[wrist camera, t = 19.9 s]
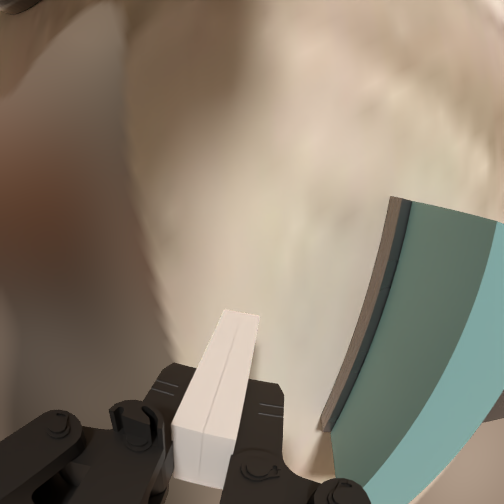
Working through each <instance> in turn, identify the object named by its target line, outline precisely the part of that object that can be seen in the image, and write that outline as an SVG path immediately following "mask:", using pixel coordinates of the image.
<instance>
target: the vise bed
mask: <svg viewBox="0 0 504 504" xmlns="http://www.w3.org/2000/svg"><path fill="white" fill-rule="evenodd" d="M411 205H412V201H410V200H406V199H403V198H398V197H392V196H390V201H389V207H388V211H387V216H386V221H385V225H384V230H383V234H382V239H381V243H380V247H379V251H378V255H377V259H376V263H375V266H374V270H373V274H372V277H371V281H370V284H369V288H368V291H367V295H366V298H365V301H364V304H363V308H362V311H361V314H360V317H359V320H358V323H357V326H356V329H355V332H354V335H353V337H352V340H351V343H350V346H349V349H348V351H347V354H346V357H345V359H344V362H343V365H342V367H341V370H340V372H339V375H338V377H337V380H336V382H335V385H334V387H333V389H332V392H331V394H330V396H329V399H328V401H327V403H326V406H325V408H324V410H323V412H322V414H321V420H322V430H323V432H331V431H332V429H333V427H334V426H335V424H336V422H337V420H338V418H339V416H340V414H341V412H342V410H343V408H344V406H345V404H346V402H347V399H348V397H349V395H350V393H351V391H352V389H353V387H354V384H355V382H356V380H357V378H358V375H359V373H360V371H361V368H362V366H363V364H364V361H365V359H366V356H367V354H368V351H369V349H370V346H371V344H372V341H373V338H374V336H375V333H376V330H377V328H378V325H379V322H380V319H381V316H382V313H383V310H384V307H385V304H386V301H387V298H388V295H389V292H390V289H391V285H392V282H393V279H394V275H395V272H396V268H397V265H398V261H399V257H400V253H401V250H402V246H403V242H404V238H405V233H406V229H407V225H408V220H409V215H410V210H411ZM501 418H504V390H503V391H502V393H501V395H500V396H499V398H498V399H497V401H496V403H495V404H494V406H493V407H492V409H491V410H490V412H489V413H488V415H487V416H486V417H485V419H484V420H483V422H487V421H492V420H497V419H501ZM483 422H482V423H483Z"/></svg>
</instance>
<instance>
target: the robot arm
mask: <svg viewBox="0 0 504 504" xmlns="http://www.w3.org/2000/svg"><path fill="white" fill-rule="evenodd" d="M39 1H41V0H0V11H3V12H5V13H8V14H17V13H20V12H22V11H24V10H26V9H28V8H30V7H32V6H33V5H35V4H36V3H38V2H39ZM259 320H260V316H259V315H253V314H248V313H243V312H238V311H233V310H228V309H224V311H223V313H222V315H221V317H220V319H219V321H218V324H217V326H216V328H215V330H214V332H213V334H212V337H211V339H210V341H209V343H208V345H207V347H206V350H205V352H204V354H203V356H202V358H201V360H200V363H199V365H198V367H197V368H193V367H189V366H185V365H181V364H177V363H172V364H171V365H169V366H168V367H166V368H164V369H163V370H162V371H161V373H160V375H159V376H158V378H157V380H156V382H155V383H154V384H153V386H152V388H151V390H150V391H149V392H148V394H147V395H146V397H145V399H144V400H143V401H138V400H125V401H122V402H119V403H117V404H115V405H114V406H112V407H111V408H110V409H109V413H110V418H111V422H112V426H113V429H111V430H104V429H96V428H91V427H85V426H81V424H80V421H79V420H78V419H77V418H76V417H75V415H73V414H71V413H69V412H67V411H62V410H50V411H48V412H46V413H43V414H42V415H40V416H39V417H37V418H36V419H34V420H33V421H31V422H30V423H28V424H27V425H25V426H24V427H22V428H20V429H19V430H18V431H16V432H14V433H13V434H11V435H10V436H8V437H7V438H5V439H4V440H2V441H0V504H164V503H165V500H166V497H167V495H168V489H169V484H168V483H169V480H170V478H171V475H172V473H173V477H174V478H177V479H180V480H184V481H188V482H191V483H196V484H200V485H204V486H208V487H212V488H217V489H222V490H223V491H222V496H221V500H220V504H371V501H370V499H369V497H368V495H367V493H366V492H365V490H364V489H363V488H362V486H361V485H359V484H358V483H356V482H355V481H353V480H349V479H345V478H333V479H330V480H327V481H324V482H323V483H322V484H321V483H317V482H314V481H311V480H308V479H305V478H302V477H300V476H298V475H296V474H295V473H293V472H292V471H291V470H289V468H288V467H287V466H286V465H285V463H284V460H283V457H282V442H283V415H284V409H283V408H284V394H283V392H282V390H281V388H280V386H279V385H278V384H275V383H269V382H263V381H258V380H252V379H249V373H250V368H251V363H252V358H253V352H254V347H255V342H256V336H257V331H258V326H259Z"/></svg>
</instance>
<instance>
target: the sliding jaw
mask: <svg viewBox="0 0 504 504" xmlns="http://www.w3.org/2000/svg"><path fill="white" fill-rule="evenodd" d="M503 390H504V224H502V223H500V222H497V221H494V220H490V219H486V218H483V217H479V216H475V215H471V214H467V213H463V212H459V211H455V210H451V209H446V208H442V207H437V206H433V205H428V204H424V203H419V202H414V201H412V205H411V210H410V215H409V220H408V225H407V229H406V233H405V238H404V242H403V246H402V250H401V253H400V257H399V261H398V265H397V268H396V272H395V275H394V279H393V282H392V285H391V289H390V292H389V295H388V298H387V301H386V304H385V307H384V310H383V313H382V316H381V319H380V322H379V325H378V328H377V330H376V333H375V336H374V338H373V341H372V344H371V346H370V349H369V351H368V354H367V356H366V359H365V361H364V364H363V366H362V368H361V371H360V373H359V375H358V378H357V380H356V382H355V384H354V387H353V389H352V391H351V393H350V395H349V397H348V399H347V402H346V404H345V406H344V408H343V410H342V412H341V414H340V416H339V418H338V420H337V422H336V424H335V426H334V427H333V429H332V431H331V433H330V434H331V442H332V450H333V458H334V467H335V476H336V478H345V479H349V480H353V481H355V482H356V483H358V484H359V485H361V486H362V488H363V489H364V490H365V492H366V493H367V495H368V497H369V499H370V501H371V504H408V503H409V502H410V501H412V500H413V499H414V498H415V497H416V496H417V495H418V494H419V493H420V492H421V491H422V490H424V489H425V488H426V487H427V486H428V485H429V484H430V483H431V482H432V481H433V480H434V479H435V478H436V477H437V476H438V475H439V474H440V473H441V471H442V470H443V469H444V468H445V467H446V466H447V465H448V464H449V463H450V462H451V461H452V459H453V458H454V457H455V456H456V455H457V454H458V452H459V451H460V450H461V449H462V448H463V446H464V445H465V444H466V443H467V442H468V440H469V439H470V438H471V436H472V435H473V434H474V433H475V431H476V430H477V429H478V427H479V426H480V424H481V423H482V422H483V420H484V419H485V417H486V416H487V415H488V413H489V412H490V410H491V409H492V407H493V406H494V404H495V403H496V401H497V399H498V398H499V396H500V395H501V393H502V391H503Z"/></svg>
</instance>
